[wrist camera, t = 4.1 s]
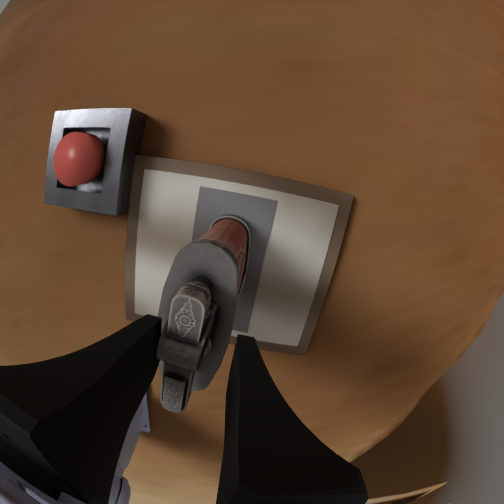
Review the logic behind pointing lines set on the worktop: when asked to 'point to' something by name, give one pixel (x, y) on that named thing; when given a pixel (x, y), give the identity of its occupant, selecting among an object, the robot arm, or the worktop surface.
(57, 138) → the button housing
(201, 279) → the lighter
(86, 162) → the button
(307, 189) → the board
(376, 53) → the worktop surface
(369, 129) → the worktop surface
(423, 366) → the worktop surface
